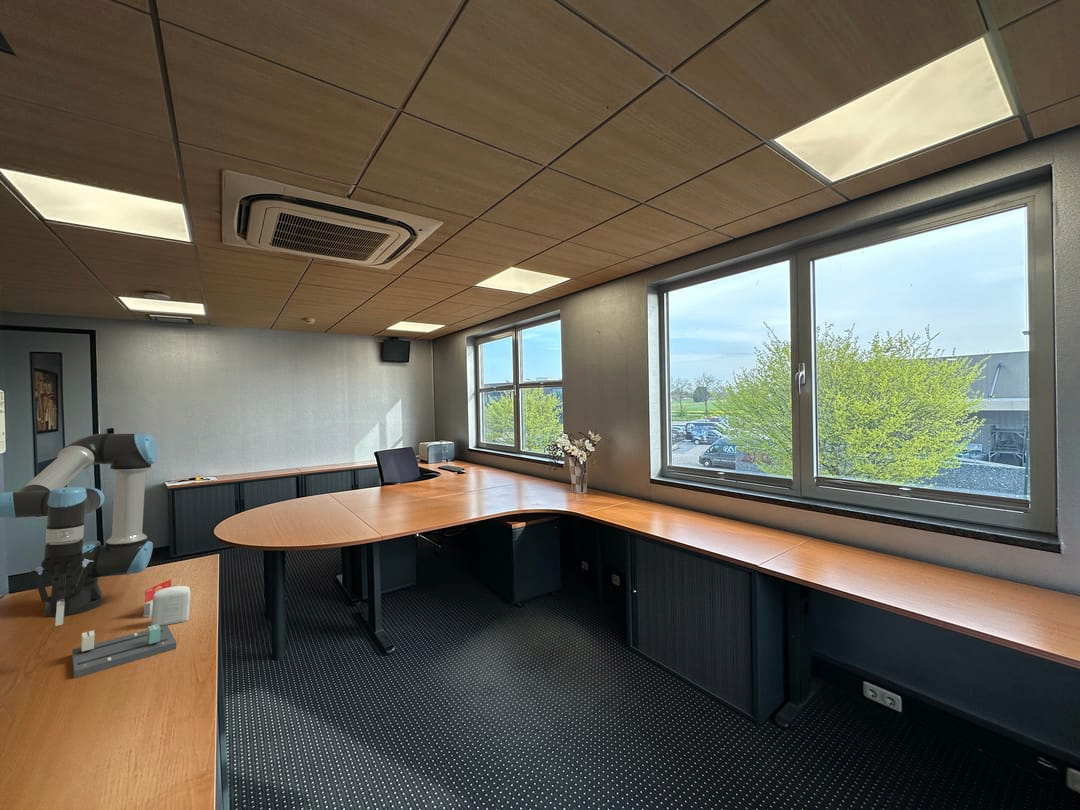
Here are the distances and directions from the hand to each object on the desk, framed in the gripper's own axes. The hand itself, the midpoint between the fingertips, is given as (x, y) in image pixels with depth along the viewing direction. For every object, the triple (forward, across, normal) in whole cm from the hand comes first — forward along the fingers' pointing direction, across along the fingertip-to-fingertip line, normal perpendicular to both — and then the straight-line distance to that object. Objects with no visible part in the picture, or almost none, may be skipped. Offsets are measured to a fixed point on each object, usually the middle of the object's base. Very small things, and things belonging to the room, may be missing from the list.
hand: (59, 623), depth 127 cm
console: (+12, +14, -4) cm, 19 cm away
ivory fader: (+10, +6, 0) cm, 12 cm away
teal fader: (+10, +20, -8) cm, 24 cm away
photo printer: (+12, +27, +11) cm, 32 cm away
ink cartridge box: (+12, +26, +25) cm, 38 cm away
